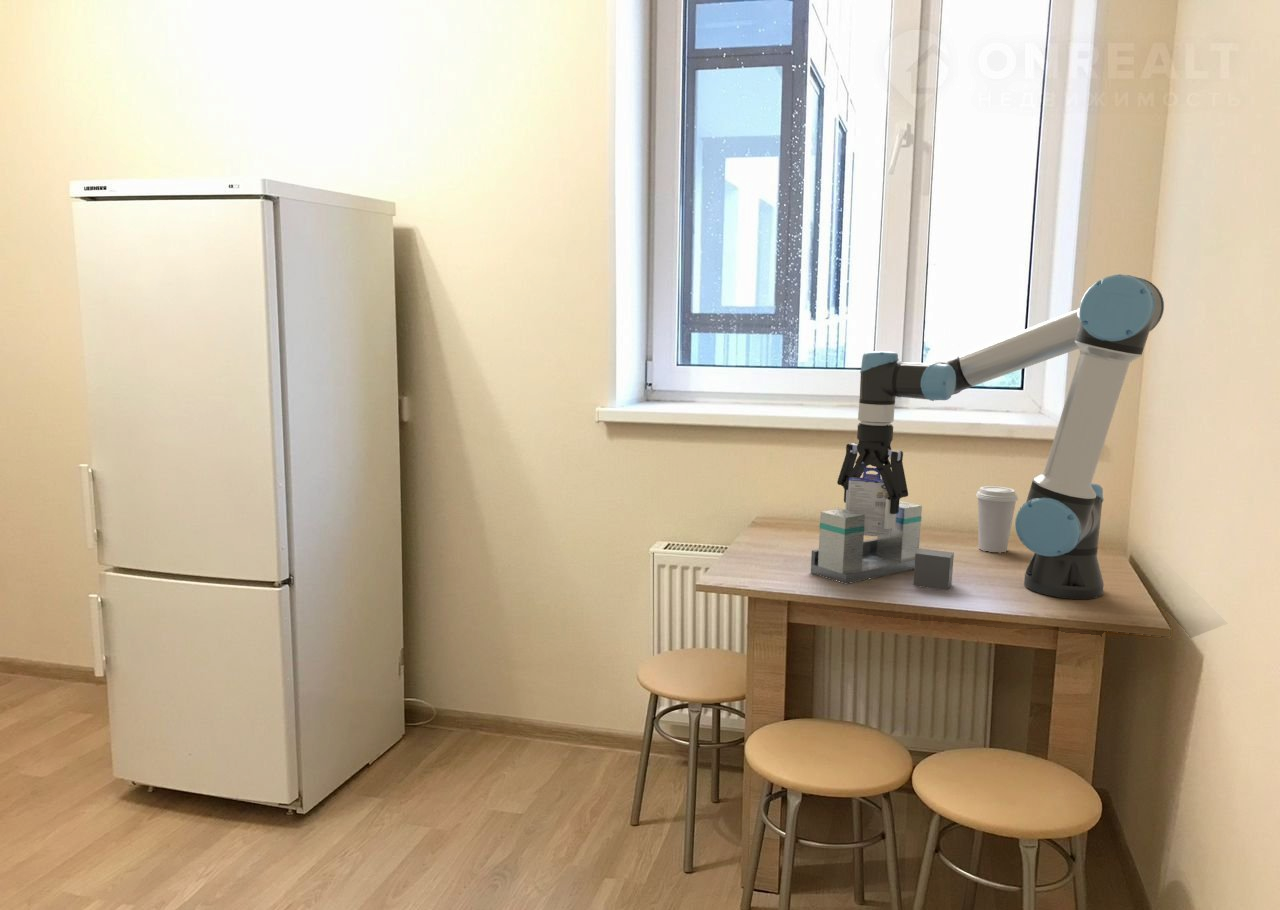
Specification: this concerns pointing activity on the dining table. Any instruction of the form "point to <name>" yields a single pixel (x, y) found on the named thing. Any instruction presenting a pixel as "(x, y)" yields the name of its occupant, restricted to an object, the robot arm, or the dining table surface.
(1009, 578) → the dining table surface
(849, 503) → the ink cartridge box
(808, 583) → the dining table surface
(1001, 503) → the coffee cup
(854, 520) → the grey stand with boxes
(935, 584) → the block
